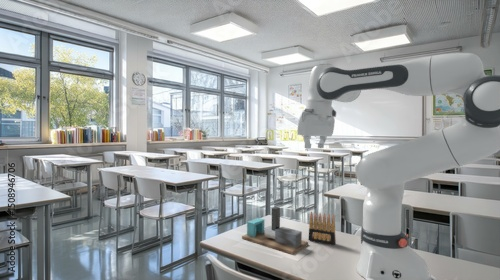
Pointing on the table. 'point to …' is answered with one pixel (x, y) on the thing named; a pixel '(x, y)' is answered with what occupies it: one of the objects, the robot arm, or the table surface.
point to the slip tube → (273, 223)
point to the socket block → (255, 227)
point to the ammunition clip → (322, 229)
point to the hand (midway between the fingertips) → (314, 148)
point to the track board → (280, 240)
